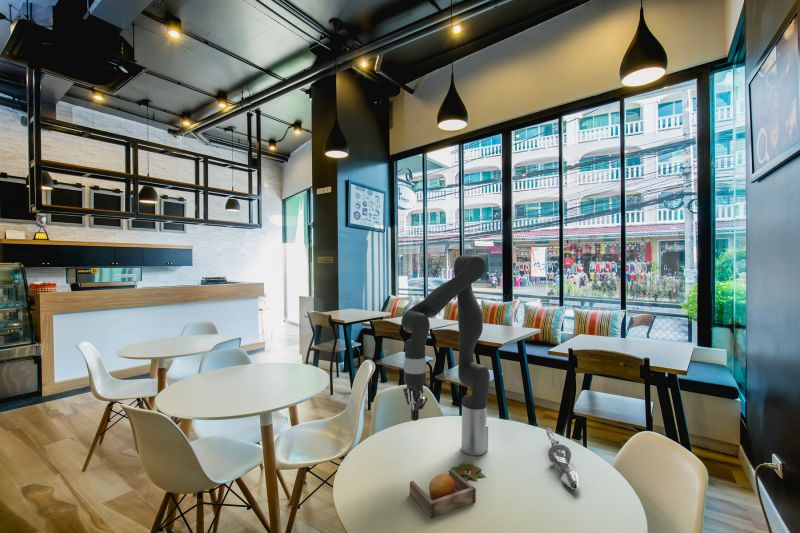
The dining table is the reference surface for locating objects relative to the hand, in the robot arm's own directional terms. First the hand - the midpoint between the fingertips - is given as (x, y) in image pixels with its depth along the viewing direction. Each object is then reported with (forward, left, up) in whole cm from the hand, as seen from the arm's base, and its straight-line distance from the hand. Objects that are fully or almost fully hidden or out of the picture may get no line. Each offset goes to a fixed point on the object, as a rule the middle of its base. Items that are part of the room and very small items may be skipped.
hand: (414, 419), depth 128 cm
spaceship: (-49, +21, -18) cm, 56 cm away
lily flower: (-16, +9, -18) cm, 26 cm away
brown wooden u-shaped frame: (0, +17, -18) cm, 24 cm away
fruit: (0, +17, -18) cm, 25 cm away
